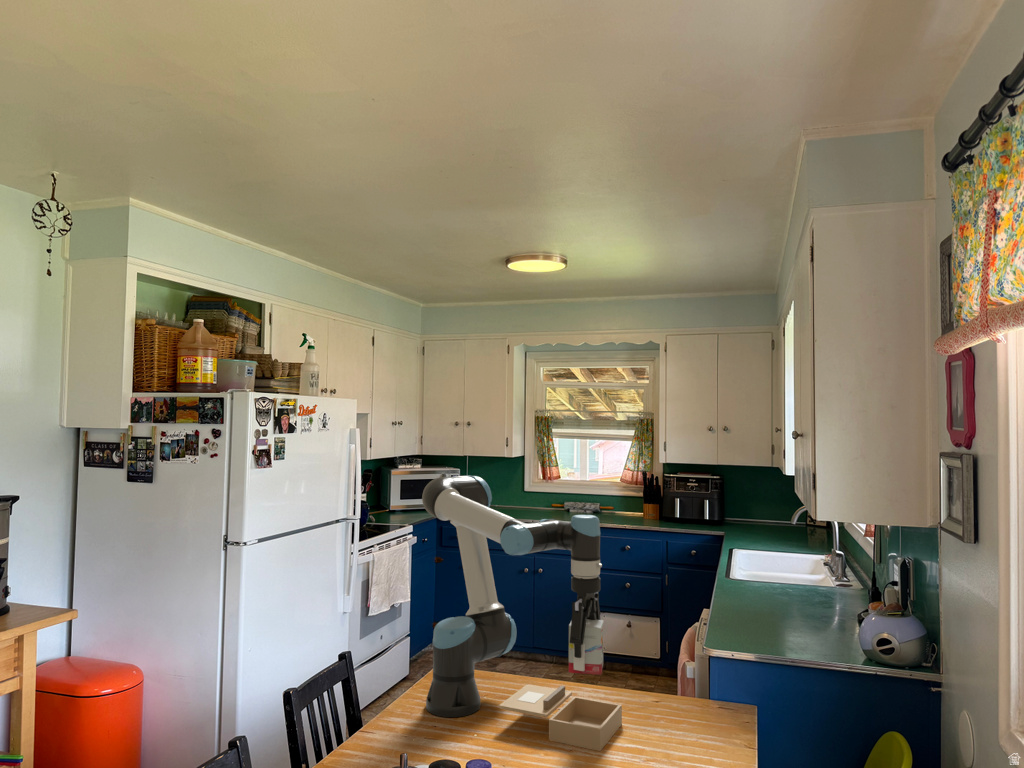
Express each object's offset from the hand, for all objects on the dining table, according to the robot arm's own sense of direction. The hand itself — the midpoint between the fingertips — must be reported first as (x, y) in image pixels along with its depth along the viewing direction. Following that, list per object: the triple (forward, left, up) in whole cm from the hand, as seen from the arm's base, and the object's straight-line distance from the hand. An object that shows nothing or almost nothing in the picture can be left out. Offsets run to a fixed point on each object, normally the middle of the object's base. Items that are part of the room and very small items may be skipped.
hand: (586, 664), depth 179 cm
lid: (-14, 0, -12) cm, 18 cm away
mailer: (0, 0, -17) cm, 17 cm away
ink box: (0, 0, -1) cm, 1 cm away
